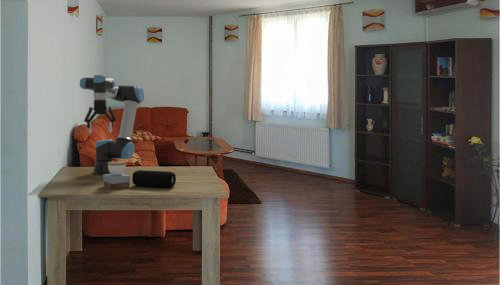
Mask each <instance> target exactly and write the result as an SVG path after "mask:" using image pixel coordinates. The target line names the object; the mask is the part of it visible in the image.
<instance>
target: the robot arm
mask: <svg viewBox="0 0 500 285" xmlns="http://www.w3.org/2000/svg"><path fill="white" fill-rule="evenodd" d="M79 87H80V89H83V90H89V91H92V92H93V107H91V106H89V107H88V110H87V111H88V112H87V113H86V116H85V118H84V119H83V122H84V123H86V128H87V129H88V134H92V123H91V122H92V121H93V119H94V118H95V117H96V116H97V115H104V116H105V117H106V118H107V119H108V120H109V122H108V132H109V133H113V128H114V122H116V121H117V119H116V117H115V115H114V113H113V111H112V107H111V106H107V100H106V99H108V98H109V99H111V100H113V101H117V102H121V103H123V105H124V106H123V107H124V108H123V113H122V117H121V124H120V128H119V134H118V136H117V137H116V138H115V141H113V139H111V138H110V139H100V140H97V141H96V142H95V147H94V148H95V163H94V167H93V168H92V169H93V171H92V172H93V174H95V175H105V174H111V173H110V172H109V170H108V162H112V161H114V159H115V160H129V159H131V158H132V157H133V156H134V154H135V150H136V149H135V144H134V143H133V140H132V135H133V130H134V125H135V118H136V115H137V109H138V108H139V107H140V105H141V103H143V102H144V101H145V92H144V89H143V87H142V86H139V85H116V81H115V79H114V78H112V77H107V76H106V75H105V74H95V75H93V77H81V78H80V79H79ZM107 111H108V112H107ZM92 112H93V113H92Z"/></svg>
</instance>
